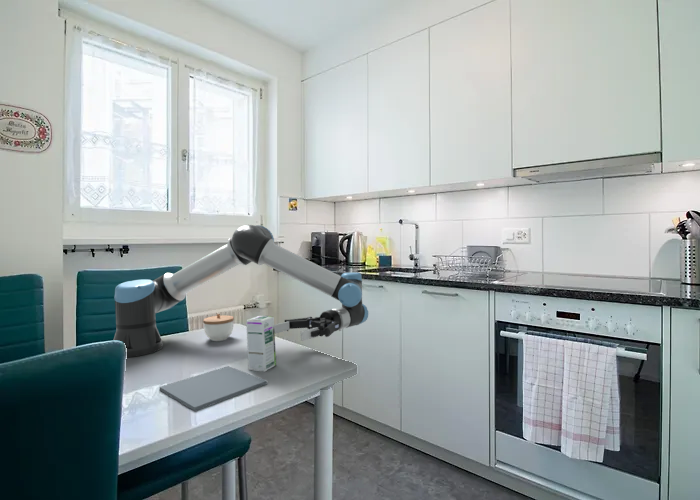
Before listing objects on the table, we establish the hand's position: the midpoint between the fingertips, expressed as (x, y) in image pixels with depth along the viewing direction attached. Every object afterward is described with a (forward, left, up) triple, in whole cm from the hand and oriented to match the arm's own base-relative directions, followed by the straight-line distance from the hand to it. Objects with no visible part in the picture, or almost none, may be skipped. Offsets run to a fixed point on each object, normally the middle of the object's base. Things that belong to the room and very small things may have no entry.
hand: (286, 332), depth 114 cm
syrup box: (0, -9, -8) cm, 12 cm away
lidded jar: (-39, 0, -8) cm, 40 cm away
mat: (+2, -25, -8) cm, 26 cm away
